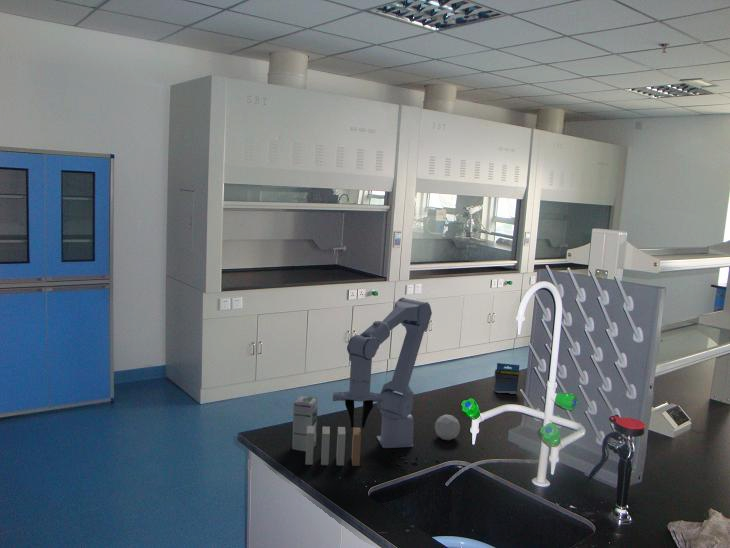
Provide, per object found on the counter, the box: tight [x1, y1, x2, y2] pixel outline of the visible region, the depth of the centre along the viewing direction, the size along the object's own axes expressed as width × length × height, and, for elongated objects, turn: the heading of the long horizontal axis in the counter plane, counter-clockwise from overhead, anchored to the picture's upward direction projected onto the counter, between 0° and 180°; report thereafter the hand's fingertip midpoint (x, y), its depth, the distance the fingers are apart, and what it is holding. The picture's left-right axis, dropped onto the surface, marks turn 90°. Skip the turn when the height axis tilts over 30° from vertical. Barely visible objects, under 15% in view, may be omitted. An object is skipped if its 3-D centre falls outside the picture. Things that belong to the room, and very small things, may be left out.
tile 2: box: [335, 426, 346, 466], centre depth 164 cm, size 2×5×9 cm, turn 4°
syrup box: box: [291, 395, 319, 452], centre depth 171 cm, size 6×6×14 cm
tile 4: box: [304, 426, 315, 466], centre depth 163 cm, size 2×5×9 cm, turn 4°
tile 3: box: [320, 425, 331, 466], centre depth 163 cm, size 2×5×9 cm, turn 4°
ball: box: [434, 413, 461, 441], centre depth 183 cm, size 8×8×8 cm
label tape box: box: [492, 362, 520, 393], centre depth 230 cm, size 9×4×12 cm, turn 85°
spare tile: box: [351, 427, 362, 467], centre depth 164 cm, size 2×5×9 cm, turn 4°
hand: (357, 426), depth 163 cm, fingers closed
